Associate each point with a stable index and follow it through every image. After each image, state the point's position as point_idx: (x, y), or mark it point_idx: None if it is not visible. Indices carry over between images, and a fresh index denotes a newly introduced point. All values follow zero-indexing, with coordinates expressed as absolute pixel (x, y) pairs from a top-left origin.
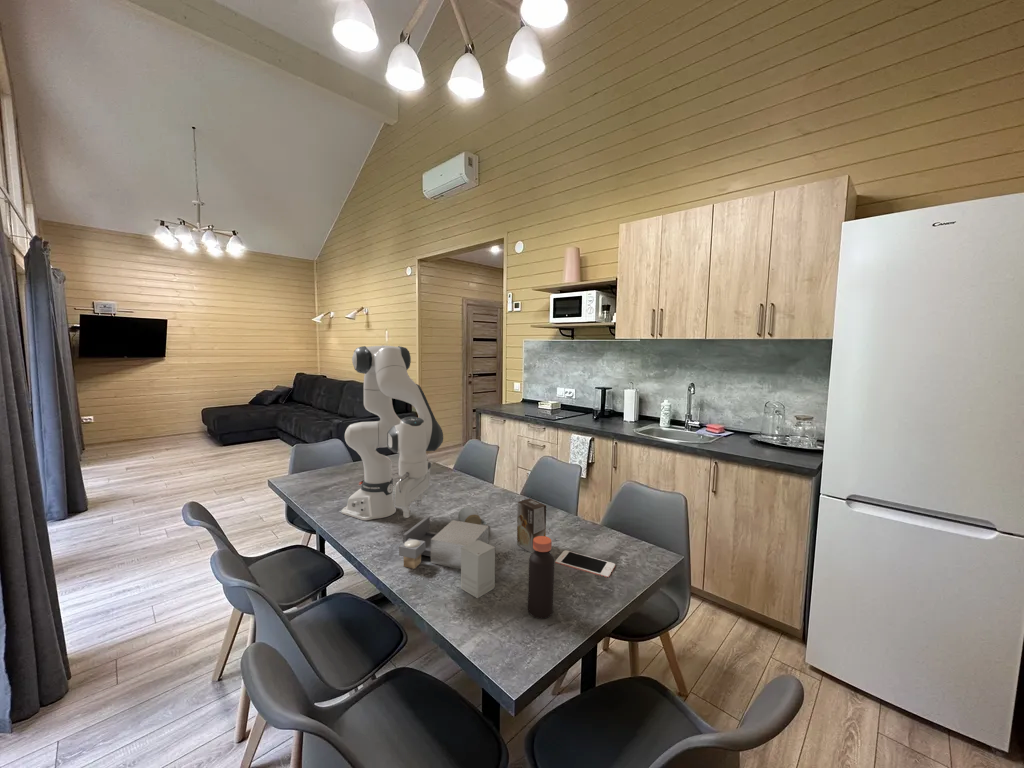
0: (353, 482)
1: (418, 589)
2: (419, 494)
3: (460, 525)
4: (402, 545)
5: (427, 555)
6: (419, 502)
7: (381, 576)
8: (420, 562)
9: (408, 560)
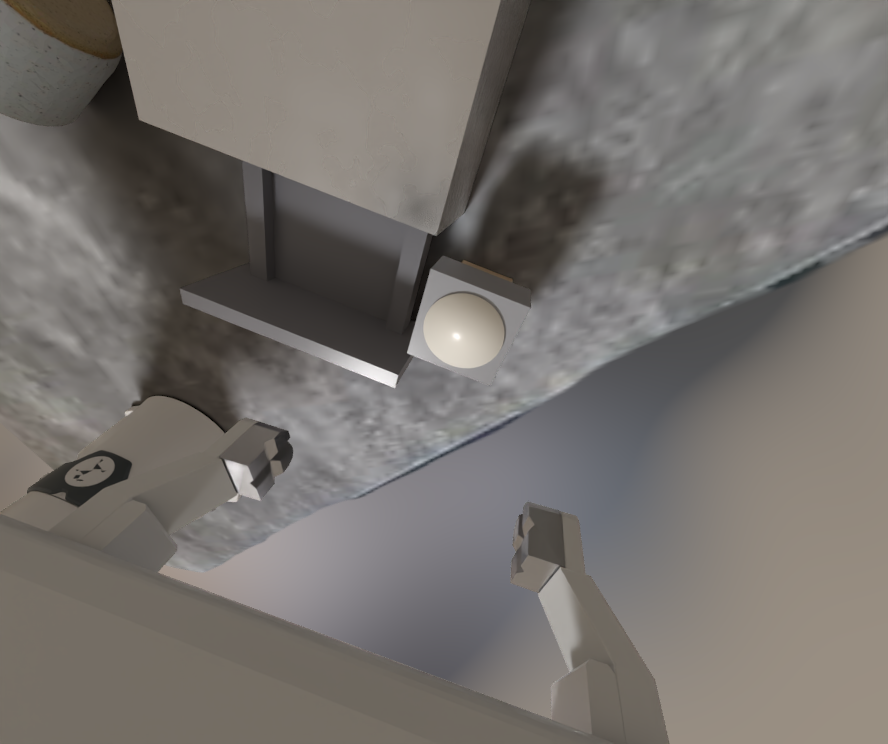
0: None
1: (700, 229)
2: (244, 642)
3: (175, 11)
4: (480, 373)
5: (430, 239)
6: (260, 461)
7: (554, 383)
8: (466, 262)
9: None
